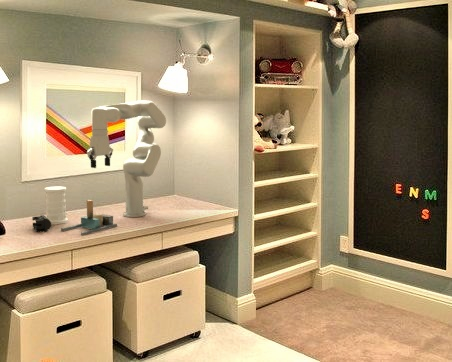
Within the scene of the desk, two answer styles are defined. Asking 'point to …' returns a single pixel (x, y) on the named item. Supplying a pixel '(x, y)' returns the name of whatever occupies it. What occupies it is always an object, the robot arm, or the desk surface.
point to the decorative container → (56, 204)
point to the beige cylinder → (99, 216)
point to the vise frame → (106, 223)
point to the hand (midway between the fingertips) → (100, 166)
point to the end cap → (41, 223)
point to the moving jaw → (90, 218)
